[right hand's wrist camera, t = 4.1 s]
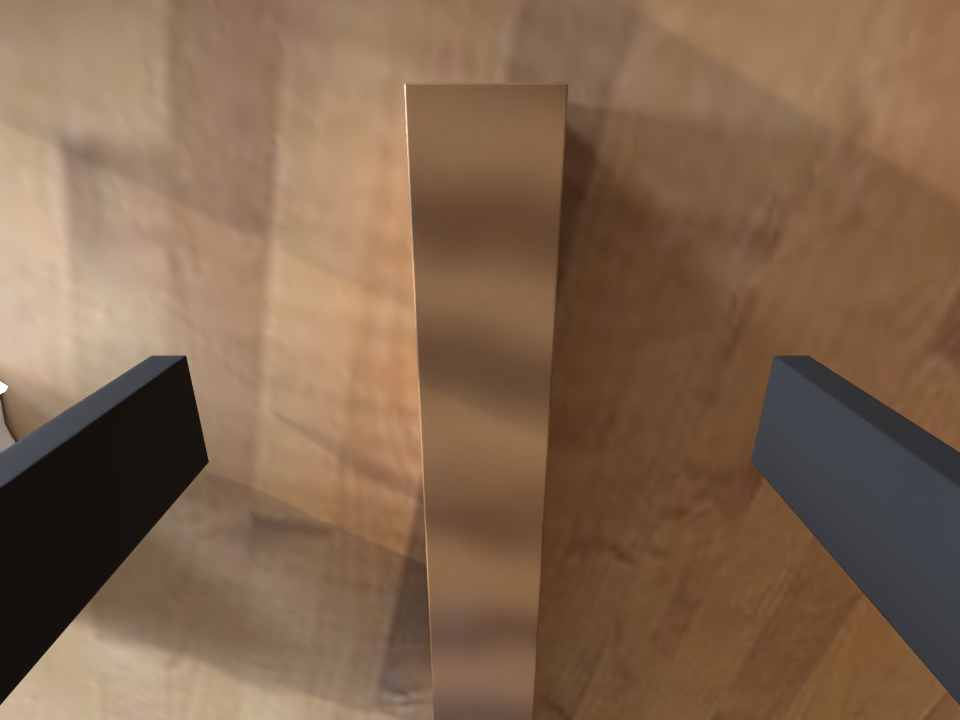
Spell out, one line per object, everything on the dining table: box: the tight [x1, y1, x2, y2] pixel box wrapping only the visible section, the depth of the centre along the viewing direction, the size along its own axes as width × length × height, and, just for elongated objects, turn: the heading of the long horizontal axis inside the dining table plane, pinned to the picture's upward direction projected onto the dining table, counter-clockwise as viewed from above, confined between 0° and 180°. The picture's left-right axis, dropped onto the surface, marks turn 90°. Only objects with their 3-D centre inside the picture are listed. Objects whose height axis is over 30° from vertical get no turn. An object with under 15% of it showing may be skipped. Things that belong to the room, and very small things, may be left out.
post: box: [404, 83, 568, 720], centre depth 32 cm, size 57×5×8 cm, turn 0°
